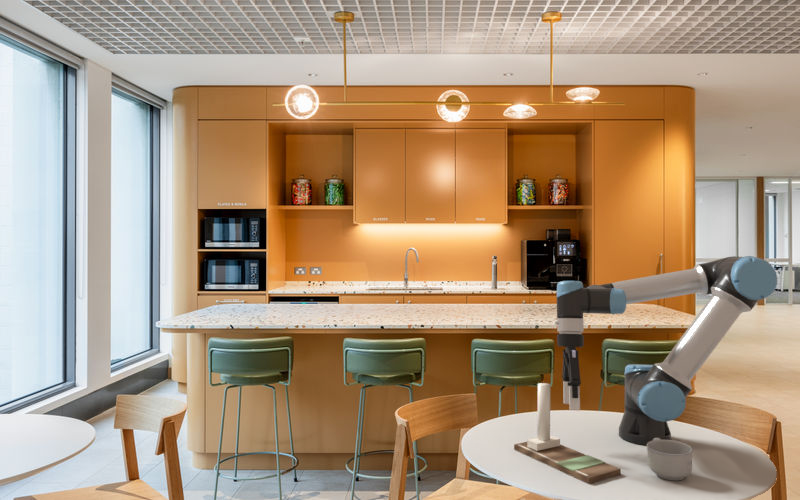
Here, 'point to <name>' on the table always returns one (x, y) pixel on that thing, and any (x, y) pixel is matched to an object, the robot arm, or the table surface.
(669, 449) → the teacup
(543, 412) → the tuning slider
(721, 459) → the table surface
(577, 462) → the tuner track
